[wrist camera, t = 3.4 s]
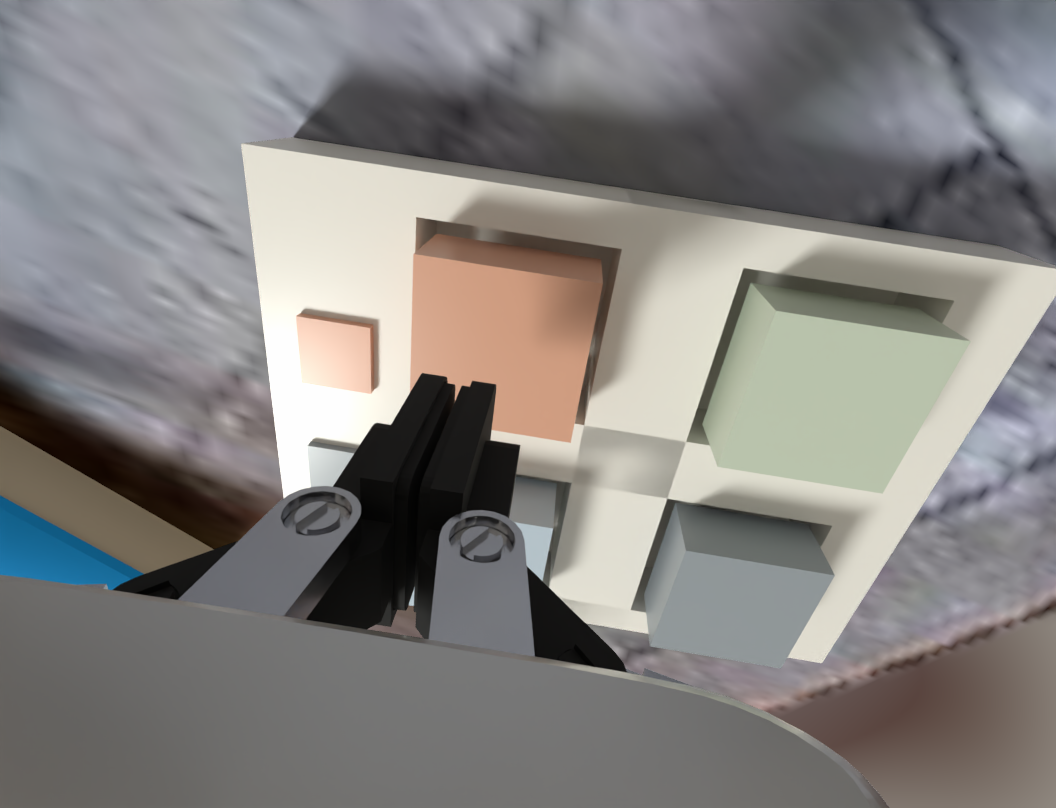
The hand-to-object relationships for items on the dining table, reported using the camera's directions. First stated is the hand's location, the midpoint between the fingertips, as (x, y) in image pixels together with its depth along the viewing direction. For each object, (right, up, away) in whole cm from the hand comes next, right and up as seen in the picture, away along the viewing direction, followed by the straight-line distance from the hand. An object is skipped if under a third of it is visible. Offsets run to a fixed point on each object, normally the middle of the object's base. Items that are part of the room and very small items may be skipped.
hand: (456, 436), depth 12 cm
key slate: (+9, -5, +9) cm, 14 cm away
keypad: (+4, 0, +9) cm, 10 cm away
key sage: (+10, +2, +5) cm, 12 cm away
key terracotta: (+1, +3, +5) cm, 6 cm away
